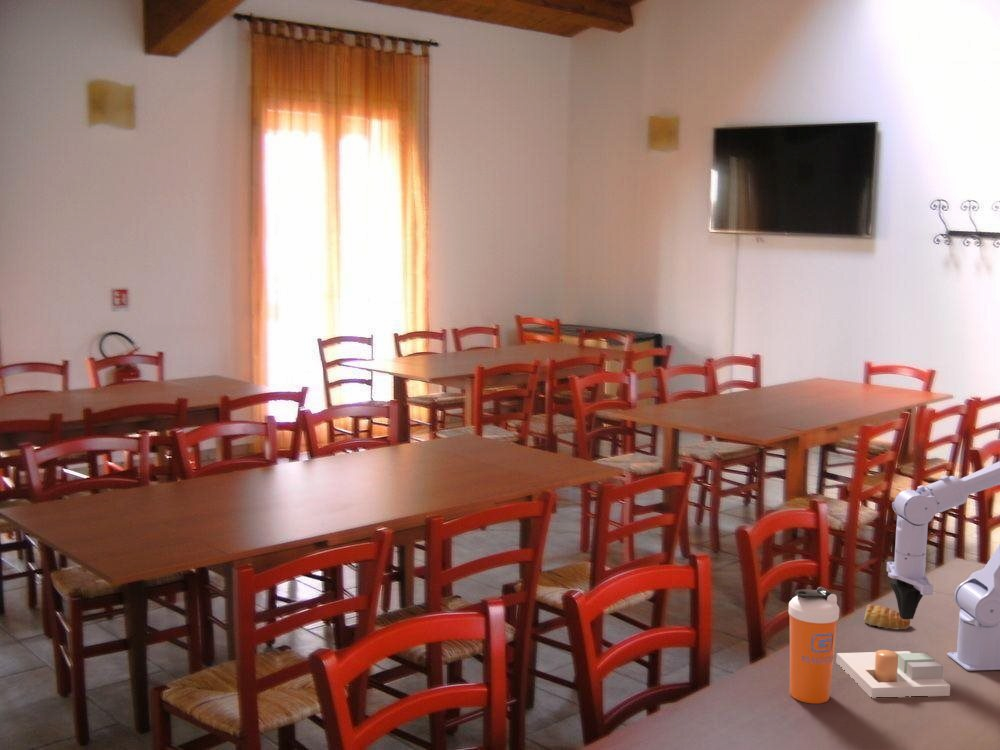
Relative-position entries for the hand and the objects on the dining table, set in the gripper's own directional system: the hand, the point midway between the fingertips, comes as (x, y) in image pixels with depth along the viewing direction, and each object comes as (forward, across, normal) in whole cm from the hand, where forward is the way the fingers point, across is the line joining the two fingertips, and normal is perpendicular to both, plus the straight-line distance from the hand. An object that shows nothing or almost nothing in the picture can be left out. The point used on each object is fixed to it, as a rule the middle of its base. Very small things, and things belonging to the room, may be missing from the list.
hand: (906, 618), depth 204 cm
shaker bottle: (+10, +12, -25) cm, 29 cm away
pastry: (+10, -21, +6) cm, 24 cm away
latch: (+7, +7, -2) cm, 11 cm away
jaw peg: (+9, +10, -9) cm, 16 cm away
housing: (+9, +7, -6) cm, 13 cm away
